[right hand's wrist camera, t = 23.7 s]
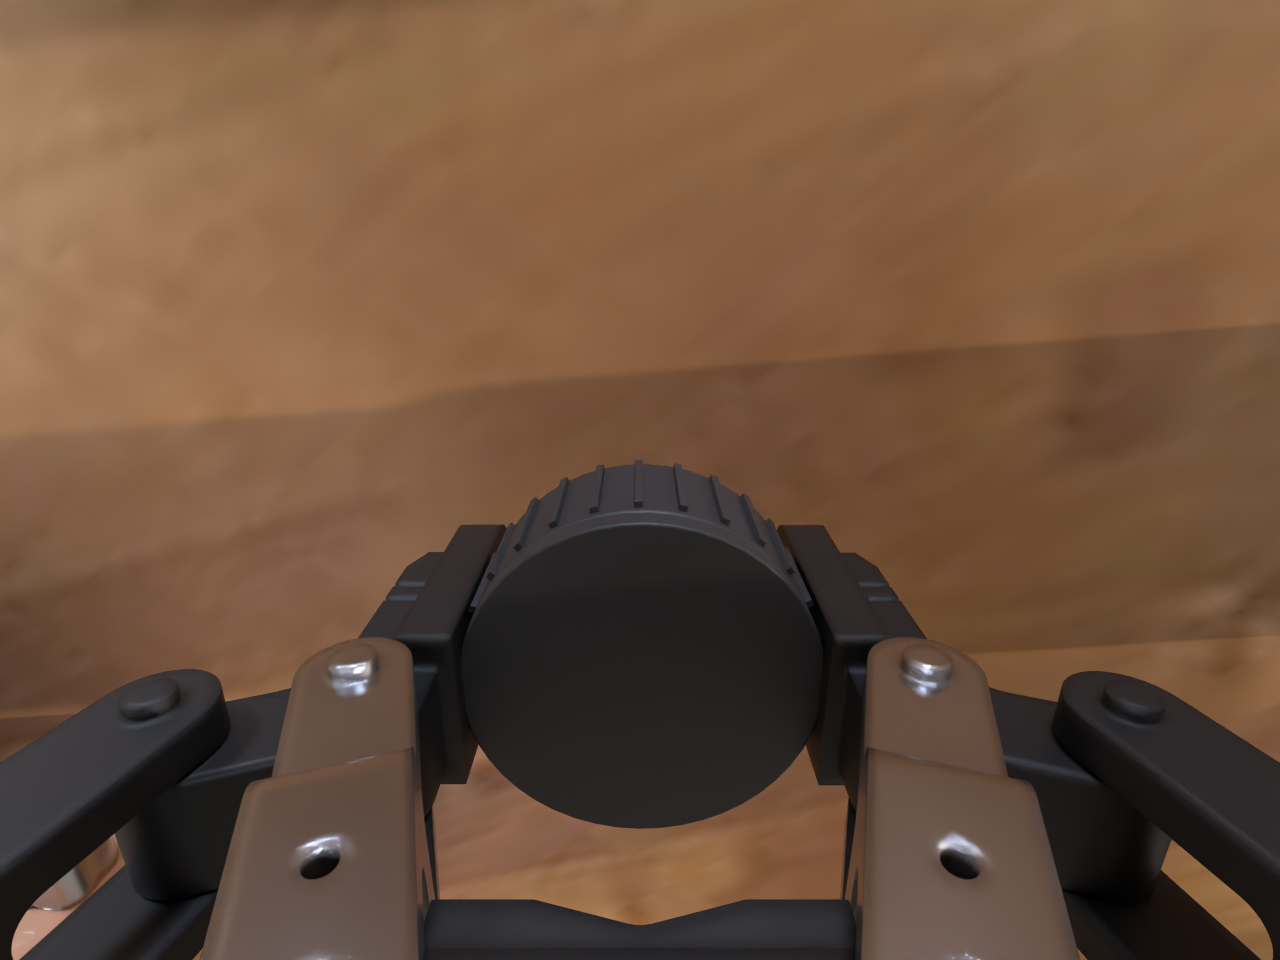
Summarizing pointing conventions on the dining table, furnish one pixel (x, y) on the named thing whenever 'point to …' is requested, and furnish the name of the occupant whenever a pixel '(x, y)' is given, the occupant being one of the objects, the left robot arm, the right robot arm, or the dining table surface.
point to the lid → (642, 650)
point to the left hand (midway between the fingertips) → (124, 936)
